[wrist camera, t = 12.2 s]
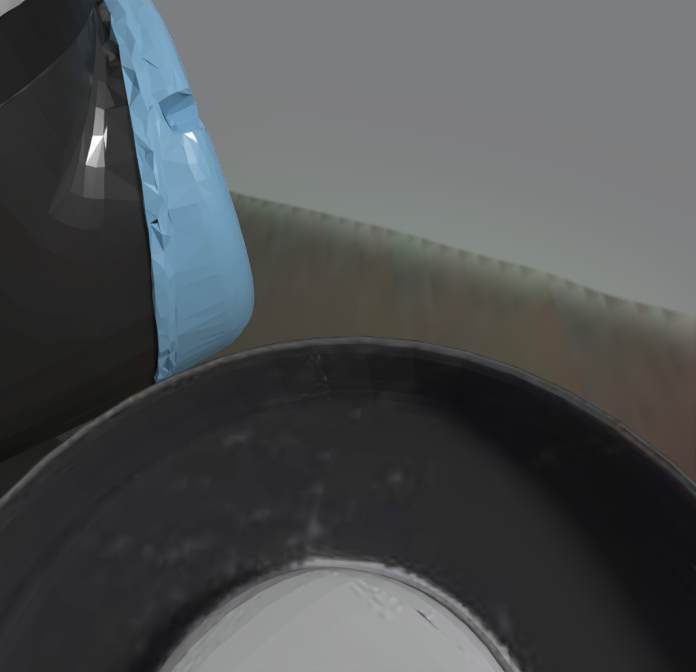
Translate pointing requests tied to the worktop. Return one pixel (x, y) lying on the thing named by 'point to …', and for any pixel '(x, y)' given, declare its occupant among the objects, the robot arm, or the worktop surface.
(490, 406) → the travel mug
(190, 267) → the robot arm
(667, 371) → the worktop surface
